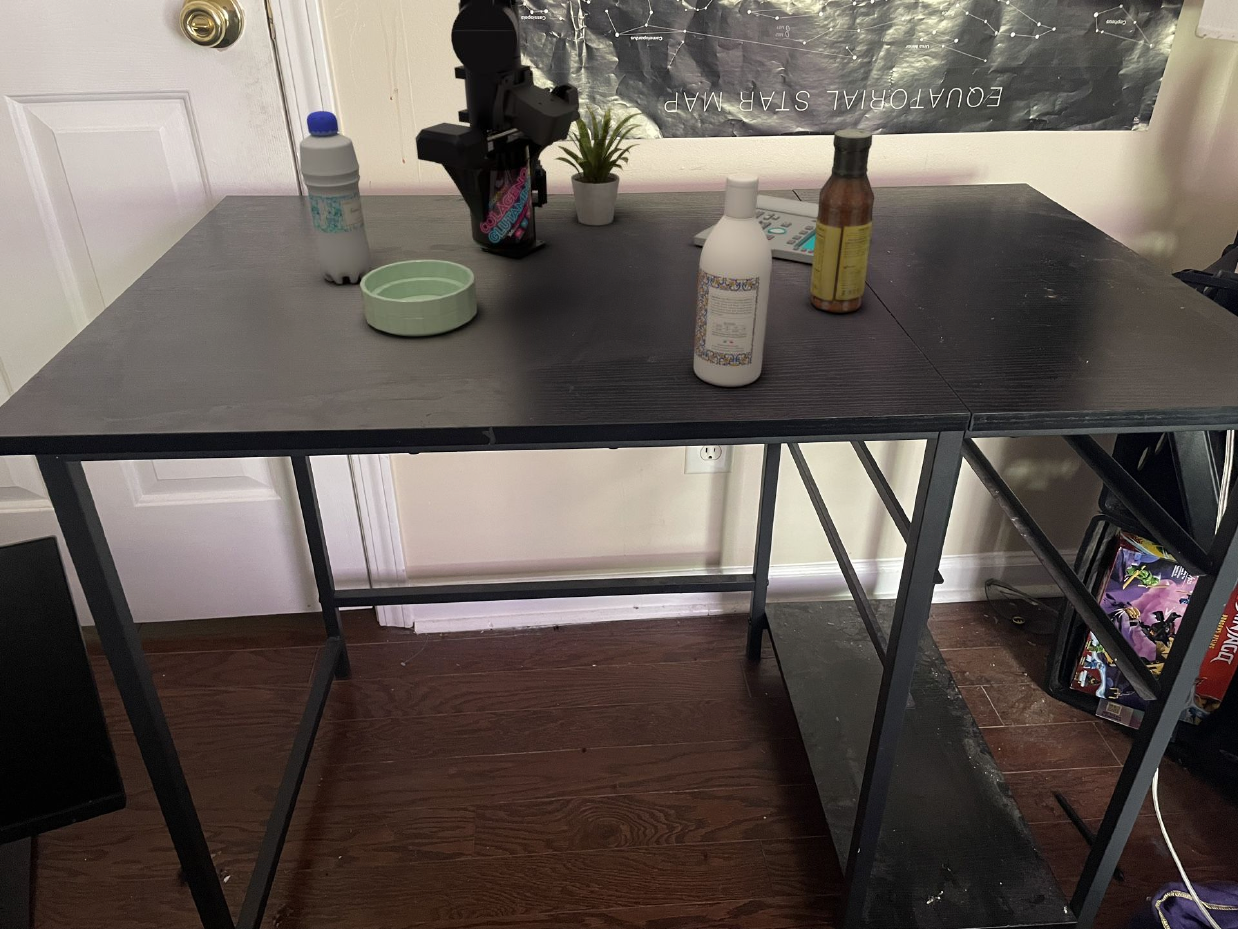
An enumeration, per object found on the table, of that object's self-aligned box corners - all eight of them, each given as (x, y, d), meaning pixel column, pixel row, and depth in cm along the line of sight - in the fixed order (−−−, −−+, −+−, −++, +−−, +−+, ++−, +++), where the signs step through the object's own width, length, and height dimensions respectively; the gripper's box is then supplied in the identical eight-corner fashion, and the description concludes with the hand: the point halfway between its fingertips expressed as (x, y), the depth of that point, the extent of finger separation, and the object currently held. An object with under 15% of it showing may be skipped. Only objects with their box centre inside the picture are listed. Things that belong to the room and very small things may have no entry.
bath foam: (718, 352, 97) (732, 162, 86) (773, 371, 93) (795, 175, 82) (679, 374, 92) (689, 177, 81) (735, 396, 89) (754, 192, 78)
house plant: (669, 216, 136) (674, 101, 127) (620, 242, 126) (621, 119, 117) (590, 200, 142) (589, 90, 133) (538, 223, 132) (533, 106, 123)
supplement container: (466, 252, 96) (457, 152, 90) (478, 229, 102) (469, 134, 96) (529, 253, 96) (524, 154, 90) (537, 230, 101) (533, 135, 95)
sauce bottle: (864, 298, 110) (892, 128, 99) (858, 318, 105) (887, 141, 94) (810, 291, 111) (831, 123, 100) (801, 310, 106) (823, 136, 96)
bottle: (361, 289, 111) (334, 119, 100) (310, 285, 112) (278, 115, 101) (383, 270, 116) (360, 106, 105) (335, 266, 117) (307, 103, 106)
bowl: (418, 287, 111) (414, 252, 109) (499, 309, 106) (496, 273, 103) (342, 323, 102) (336, 285, 100) (426, 349, 97) (422, 310, 94)
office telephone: (759, 187, 140) (886, 207, 132) (757, 204, 142) (883, 225, 133) (694, 226, 123) (835, 252, 115) (693, 245, 125) (832, 272, 116)
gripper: (501, 79, 78) (511, 253, 87) (611, 49, 92) (610, 202, 100) (403, 66, 83) (422, 232, 91) (521, 40, 96) (528, 186, 105)
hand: (501, 212), depth 97 cm, fingers closed on supplement container, 7 cm apart
